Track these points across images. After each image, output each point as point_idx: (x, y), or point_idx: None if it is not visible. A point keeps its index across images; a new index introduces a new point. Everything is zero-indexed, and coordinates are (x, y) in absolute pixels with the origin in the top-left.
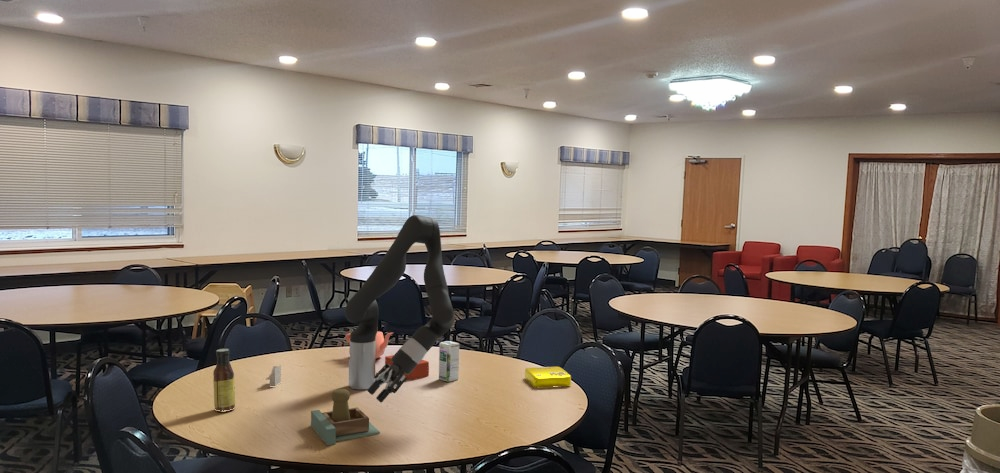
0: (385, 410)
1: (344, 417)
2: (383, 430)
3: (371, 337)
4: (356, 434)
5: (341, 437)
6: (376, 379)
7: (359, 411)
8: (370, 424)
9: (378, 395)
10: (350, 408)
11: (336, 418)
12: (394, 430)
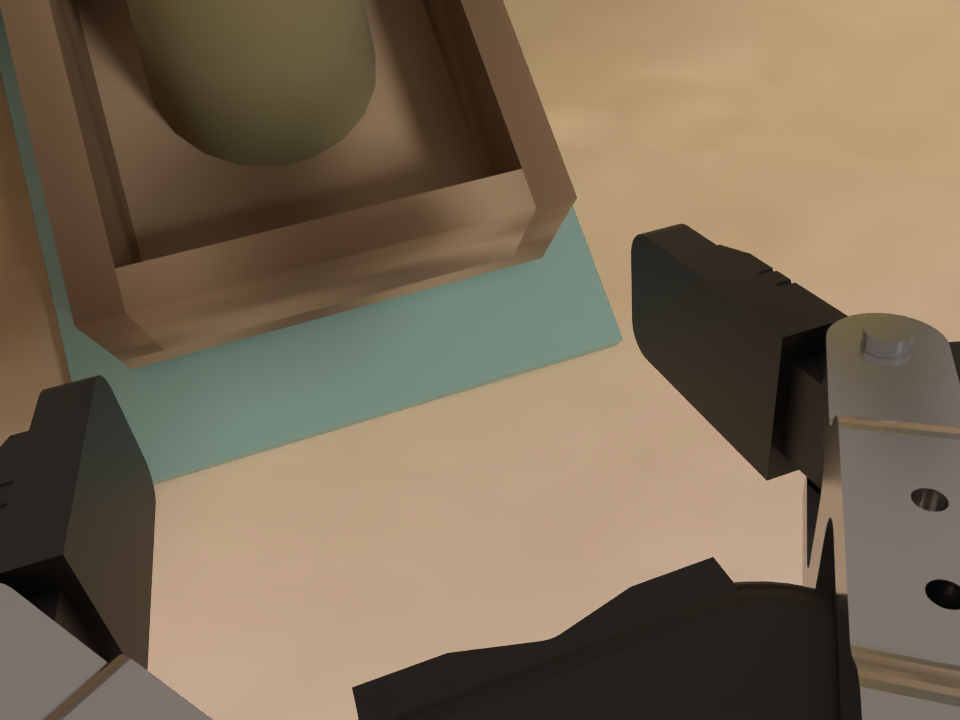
0: None
1: (130, 8)
2: (212, 547)
3: None
4: None
5: None
6: (854, 351)
7: (402, 213)
8: (377, 396)
9: (61, 412)
10: (544, 112)
11: None
12: (179, 687)
